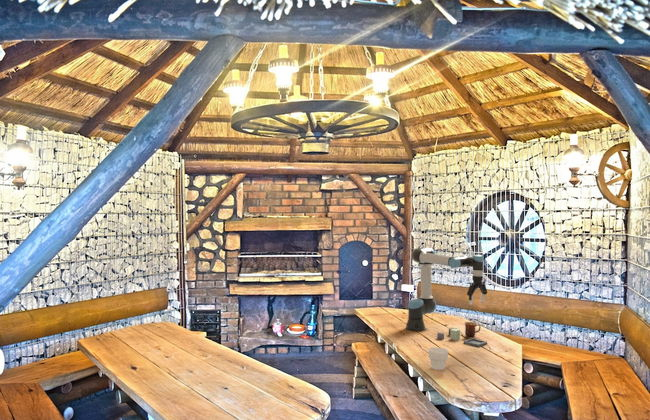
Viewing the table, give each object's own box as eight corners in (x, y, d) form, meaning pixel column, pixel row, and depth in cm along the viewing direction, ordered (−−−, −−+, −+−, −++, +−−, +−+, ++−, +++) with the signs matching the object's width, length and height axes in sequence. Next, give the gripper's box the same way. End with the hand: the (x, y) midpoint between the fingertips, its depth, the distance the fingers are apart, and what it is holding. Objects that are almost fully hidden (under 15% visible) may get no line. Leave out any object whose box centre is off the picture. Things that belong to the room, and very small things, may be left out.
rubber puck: (435, 338, 390) (436, 333, 390) (439, 337, 394) (439, 332, 394) (441, 339, 387) (441, 334, 387) (445, 338, 390) (445, 333, 390)
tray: (463, 343, 377) (463, 341, 377) (472, 340, 385) (472, 338, 385) (478, 347, 369) (478, 344, 368) (487, 344, 377) (487, 341, 377)
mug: (465, 337, 393) (465, 324, 393) (463, 334, 402) (463, 321, 401) (481, 338, 392) (481, 325, 392) (479, 335, 400) (479, 322, 400)
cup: (425, 369, 319) (426, 351, 319) (430, 363, 330) (430, 346, 330) (446, 372, 314) (446, 354, 314) (450, 366, 325) (450, 348, 325)
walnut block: (448, 335, 400) (448, 328, 400) (450, 333, 405) (450, 327, 405) (455, 336, 398) (455, 329, 398) (456, 334, 402) (456, 328, 402)
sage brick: (450, 339, 389) (450, 329, 389) (453, 337, 393) (454, 328, 393) (456, 340, 386) (456, 331, 386) (459, 339, 389) (459, 329, 389)
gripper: (470, 277, 380) (469, 306, 381) (492, 275, 394) (491, 302, 395) (462, 276, 387) (461, 304, 387) (484, 273, 400) (483, 301, 401)
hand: (477, 303), depth 391 cm, fingers open, 13 cm apart
